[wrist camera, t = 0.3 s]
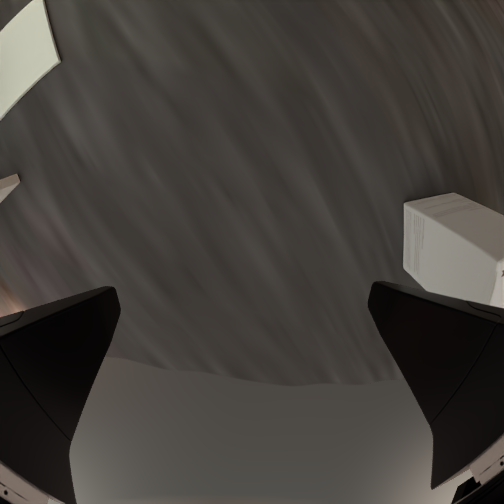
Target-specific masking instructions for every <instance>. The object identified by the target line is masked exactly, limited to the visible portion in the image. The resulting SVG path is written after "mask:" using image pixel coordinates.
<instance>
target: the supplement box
mask: <svg viewBox="0 0 504 504" xmlns="http://www.w3.org/2000/svg"><path fill="white" fill-rule="evenodd" d="M403 268H404V270H406V271H407V272H408V273H409V274H410V275H411V276H412V277H413V278H414V279H415V280H416V281H417V282H418V283H419V284H420V285H421V286H422V287H423V288H424V289H425V290H426V291H428V292H433V293H437V294H441V295H445V296H450V297H454V298H458V299H463V300H468V301H473V302H477V303H482V304H486V305H491V306H496V307H500V308H504V216H503V215H501V214H499V213H497V212H495V211H493V210H491V209H489V208H487V207H485V206H483V205H481V204H478V203H476V202H474V201H472V200H470V199H467V198H465V197H463V196H461V195H458V194H456V193H448V194H443V195H438V196H433V197H429V198H424V199H419V200H414V201H410V202H405V203H404V252H403Z"/></svg>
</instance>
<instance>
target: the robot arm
mask: <svg viewBox="0 0 504 504" xmlns="http://www.w3.org/2000/svg"><path fill="white" fill-rule="evenodd" d="M368 308H369V311H370V313H371V315H372V317H373V320H374V322H375V324H376V326H377V329H378V331H379V333H380V335H381V337H382V339H383V341H384V342H385V344H386V346H387V348H388V349H389V351H390V353H391V354H392V356H393V358H394V360H395V361H396V363H397V365H398V367H399V369H400V370H401V372H402V374H403V376H404V378H405V379H406V381H407V383H408V385H409V387H410V389H411V390H412V393H413V394H414V396H415V398H416V400H417V402H418V404H419V406H420V408H421V410H422V412H423V414H424V416H425V418H426V420H427V422H428V423H429V425H430V428H431V431H432V435H433V460H432V476H431V489H432V490H433V489H435V488H437V487H439V486H440V485H442V484H444V483H446V482H448V481H450V480H451V479H453V478H455V477H457V476H458V475H460V474H462V473H463V472H465V471H467V470H468V469H470V470H471V472H472V475H473V477H471V478H470V479H468V480H467V481H466V482H464V483H462V484H461V485H460V486H458V488H457V490H456V493H455V495H454V498H453V500H452V503H451V504H504V308H500V307H496V306H491V305H486V304H482V303H477V302H473V301H468V300H463V299H458V298H454V297H450V296H445V295H441V294H437V293H433V292H428V291H424V290H420V289H416V288H411V287H407V286H403V285H398V284H394V283H390V282H386V281H376V282H374V283H373V284H372V287H371V291H370V295H369V299H368ZM120 312H121V308H120V303H119V300H118V296H117V292H116V289H115V288H114V287H111V286H104V287H100V288H97V289H94V290H90V291H87V292H84V293H80V294H77V295H74V296H71V297H67V298H64V299H61V300H57V301H54V302H51V303H48V304H44V305H41V306H38V307H35V308H31V309H28V310H25V312H24V311H20V312H17V313H14V314H10V315H7V316H4V317H0V504H47V503H48V499H49V498H50V499H52V500H54V501H56V502H59V503H61V504H77V503H76V499H75V493H74V487H73V482H72V475H71V468H70V460H69V450H70V445H71V441H72V439H73V436H74V433H75V430H76V427H77V425H78V422H79V419H80V416H81V414H82V411H83V408H84V405H85V403H86V400H87V398H88V395H89V393H90V390H91V388H92V385H93V383H94V380H95V378H96V376H97V373H98V371H99V369H100V366H101V364H102V362H103V359H104V357H105V355H106V353H107V351H108V348H109V346H110V343H111V341H112V338H113V335H114V331H115V328H116V325H117V322H118V319H119V316H120Z"/></svg>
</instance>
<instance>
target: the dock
mask: <svg viewBox="0 0 504 504" xmlns="http://www.w3.org/2000/svg"><path fill="white" fill-rule="evenodd" d="M19 183H20V180H19V177H18V175H17V174H14V175H11V176H9V177H6V178H3V179H1V180H0V203H1V202H2V201H3V200H4V199H5V197H6V196H7V195H8V194H9V193H10V192H11V191H12V190H13V189H14V188H15V187H16V186H17V185H18V184H19Z"/></svg>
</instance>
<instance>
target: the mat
mask: <svg viewBox="0 0 504 504" xmlns="http://www.w3.org/2000/svg"><path fill="white" fill-rule="evenodd" d="M60 62H61V60H60V57H59V54H58V51H57V47H56V44H55V41H54V37H53V34H52V30H51V26H50V22H49V18H48V14H47V10H46V6H45V1H44V0H33V1H31V2H30V3H29V4H28V5H27V6H26V7H25V8H24V9H23V10H22V11H20V12H19V13H18V14H17V15H16V16H15V17H14V18H13V19H12V20H11V21H10V22H9V23H8V24H7V25H6V26H5V27H4V28H3V30H2V31H1V32H0V121H1V120H2V118H3V117H4V116H5V115H6V114H7V113H8V112H9V110H10V109H11V108H12V107H13V106H14V105H15V104H16V103H17V102H18V101H19V100H20V99H21V98H22V97H23V96H24V95H25V94H26V93H27V92H28V91H29V90H30V89H31V88H32V87H33V86H34V85H35V84H36V83H37V82H38V81H39V80H40V79H41V78H43V77H44V76H45V75H46V74H47V73H48V72H49V71H50V70H52V69H53V68H54V67H55V66H56V65H58V64H59V63H60Z"/></svg>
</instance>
